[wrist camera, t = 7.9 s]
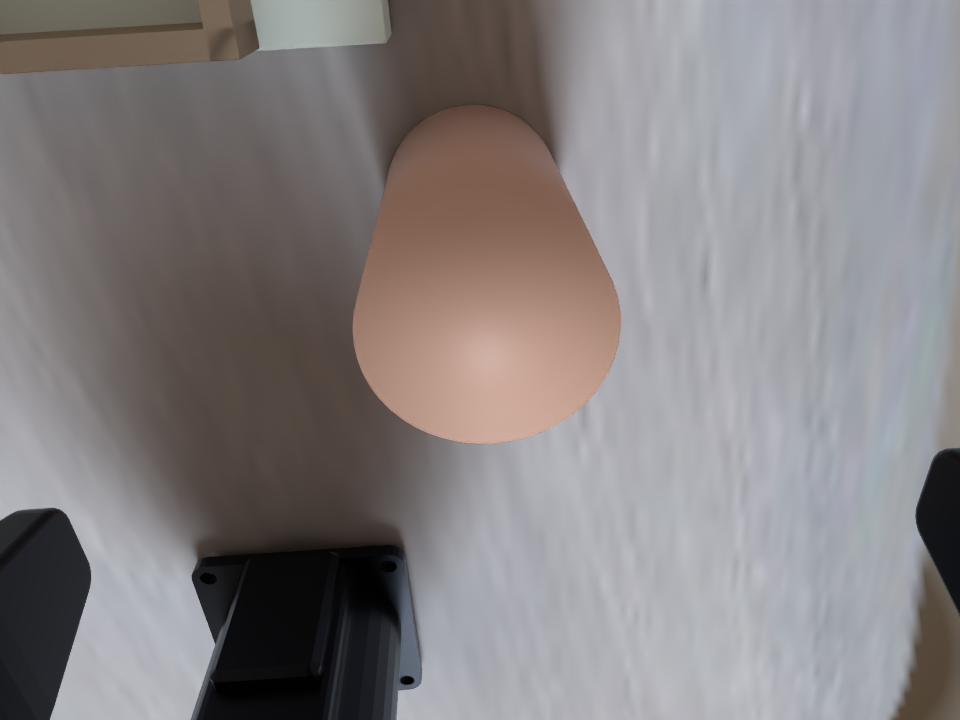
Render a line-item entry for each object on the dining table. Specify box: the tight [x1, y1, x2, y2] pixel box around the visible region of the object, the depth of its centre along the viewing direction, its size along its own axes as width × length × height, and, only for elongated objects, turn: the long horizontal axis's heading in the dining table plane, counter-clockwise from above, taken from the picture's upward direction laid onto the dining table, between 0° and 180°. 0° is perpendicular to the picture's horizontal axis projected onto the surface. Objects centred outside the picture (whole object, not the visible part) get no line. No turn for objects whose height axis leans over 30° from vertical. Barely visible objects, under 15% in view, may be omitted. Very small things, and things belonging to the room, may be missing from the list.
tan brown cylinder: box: [352, 105, 621, 444], centre depth 14 cm, size 4×4×7 cm
